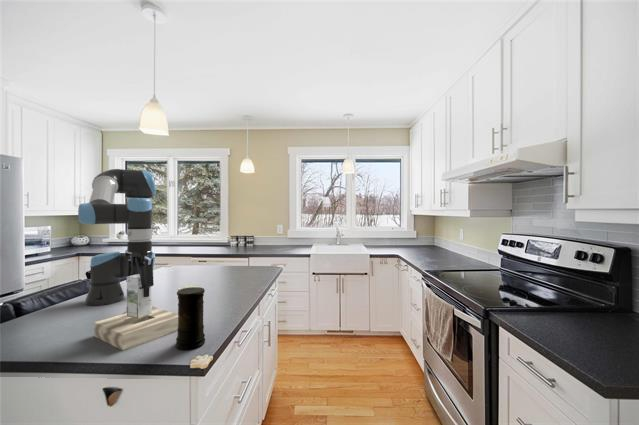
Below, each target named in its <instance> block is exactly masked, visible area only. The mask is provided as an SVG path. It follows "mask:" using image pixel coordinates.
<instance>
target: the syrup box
mask: <svg viewBox="0 0 639 425" xmlns="http://www.w3.org/2000/svg"><path fill="white" fill-rule="evenodd" d="M140 287H142V284H141V277H140V274H135V275H131V276H128V277H127V282H126V307H127V316H128V317H134V318H141V317H144V316H146V315H149V314H151V313H152V307H153V306H152V286H151V287H150V288H149V305H148V306H144V307H140Z"/></svg>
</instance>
